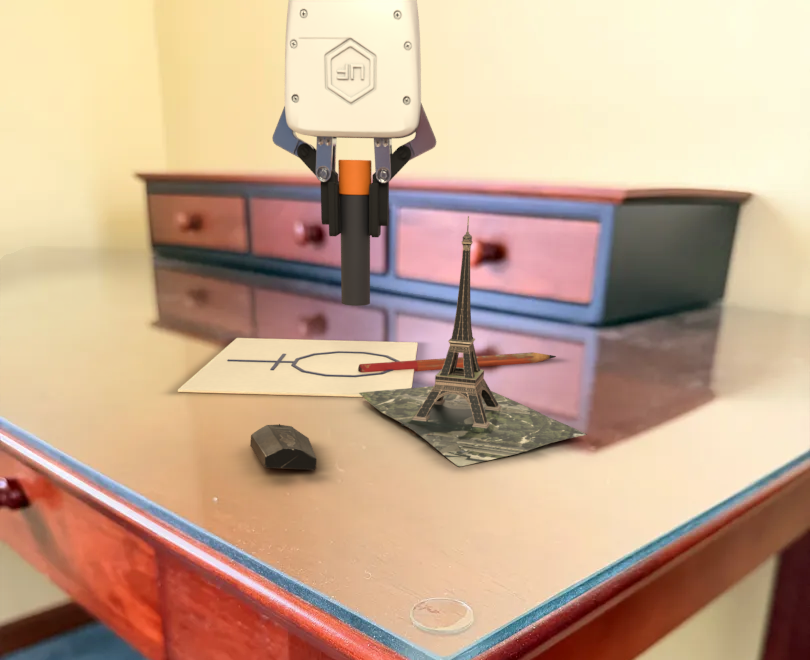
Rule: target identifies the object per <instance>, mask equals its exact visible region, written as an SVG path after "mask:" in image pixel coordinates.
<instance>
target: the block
mask: <svg viewBox="0 0 810 660" xmlns="http://www.w3.org/2000/svg"><path fill="white" fill-rule="evenodd" d="M249 444H250V446H249V447H250V448H251V449H252V451H253V452H254V454H255V455H256V457H257V458H258V460H259V462H260V463H261V464H262V466H263V467H264V468H265V469H283V470H284V469H285V470H286V469H288V470H307V471H308V470H309V471H315V470H316V468H317V456H316V453H315V451H314V449H313V446H312V444H311V441H310V439H309V437H308V436H307V435H305V434H303V433H302V432H300V431H299V430H297V429H296V428H294V426H292V425H285V424H280V423H278V424H265V425H264V426H262V427H260V428H259V429H257V430H256V431H254V432H253V433H252V434H250V442H249Z"/></svg>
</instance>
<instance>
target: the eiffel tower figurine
mask: <svg viewBox="0 0 810 660" xmlns="http://www.w3.org/2000/svg"><path fill="white" fill-rule="evenodd" d="M469 223H470V216H469V215H467V224H466V225H467V226H466V232H465V234H464V235H463V236H462V241H461V245H462V255H461V265H460V266H461V267H460V276H459V284H458V293H457V302H456V310H455V317H454V323H453V329H452V333H451V337H450V339H449V340H448V341H447V342H448V344H449V346H448V350H447V353H446V356H445V358H446V359H445V362H444V365H443V368H442V369H441V370H439V371H438V372H437V373H436V374H435V376H434V385H430V386H420V387H412V388H407V389H395V390H382V391H371V392H362V393H359V394H360V395H361V396H362V397H361V398H363V399H364V400H365V401H367V402H368V403H369V404H370V405H371V406H373V408H375V409H377V410H378V411H379V412H380V413H382V414H383V415H385V416H387V417H389V418H391V419H393V420H395V421H396V422H399V423H400V424H401V427H407V428H409V429H410V430H412V431H413V432H414V433H416V434H417V435H418V436H420V437H421V438H422V439H424V440H425V441H426V442H428V444H430V445H431V446H432V447H433V448H434V449H436V450H437V451H438V452H439V453H440V454H441V455H442V456H444V457H445V458H447V460H449V461H450V462H452V464H453V465H455V466H456V467H458V468H460V467H465V466H469V465H474V464H479V463H482V462H487V461H491V460H496V459H500V458H504V457H508V456H513V455H517V454H521V453H524V452H529V451H531V450H534V449H538V448H541V447H543V446H547V445H549V444H552V443H557V442H560V441H564V440H569V439H573V438H577V437H583V436H587V435H588V434H587V433H586V432H583V431H581V430H579V429H577V428H575V427H573V426H570V425H568V424H566V423H563V422H561V421H558V420H556V419H554V418H552V417H550V416H547V415H545V414H543V413H541V412H539V411H537V410H535V409H533V408H530V407H529V406H526V405H524V404H522V403H520V402H518V401H516V400H513V399H511V398H509V397H506V396H504V395H502V394H500V393H497V392H495V391H492V390H491V389H490V387H489V385H488V383H487V381H486V380H485V378H484V377H485V369H480V368H481V367H479V365H478V362H477V357H476V356H477V353H476V348H475V343H474V342H475V341H476V338H475V337H474V336H473V329H472V312H471V311H472V310H471V308H472V307H471V249H472V244H473V243H474V242H473V236H472V235H471V234H470V231H469V226H470V225H469ZM459 354H462V357H463V366H464V368H458V367H456V366H457V361H458V357H459Z"/></svg>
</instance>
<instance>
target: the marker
mask: <svg viewBox="0 0 810 660" xmlns="http://www.w3.org/2000/svg"><path fill="white" fill-rule="evenodd" d="M337 166H338V181H339V194H340V222H341V233H340V282H341V283H340V284H341V285H340V289H341V290H340V291H341V293H340V294H341V295H340V296H341V299H340V300H341V304H342V305H344V306H351V307H353V306H354V307H356V306H357V307H359V306H360V307H361V306H362V307H363V306H368V305H370V304H371V236H369V185H370V184H372V160H371V159H338V165H337Z"/></svg>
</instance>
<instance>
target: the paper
mask: <svg viewBox="0 0 810 660" xmlns="http://www.w3.org/2000/svg"><path fill="white" fill-rule="evenodd" d="M418 345H419V342H417V341H416V342H415V341H381V340H379V341H378V340H377V341H376V340H339V339H338V340H337V339H335V340H334V339H302V338H301V339H300V338H299V339H298V338H297V339H295V338H261V337H260V338H257V337H236V338H235V339H234V340H232V342H230V343H229V344H228V345H226V347H225V348H223V349H222V350H221V351H220V352H219V353H218V354H216V355H215V356H214V357H213V358H212V359H211V360H209V362H207V363H206V364H205V365H204V366H202V367H201V368H200V369H199V370H198V371H197V372H196V373H195V374H194V375H192V376H191V377H190V378H189V379H188V380H187V381H186V382H185V383H184V384H182V385H181V386H180V387H179V388H178V389H177V393H198V394H199V393H202V394H203V393H204V394H205V393H206V394H237V395H241V394H242V395H272V396H273V395H275V396H277V395H278V396H312V397H313V396H314V397H349V398H351V397H352V398H363V397H362V396H361V395H360V394H359V393H362V392H371V391H382V390H395V389H407V388H413V382H414V376H415V371H414V369H406V370H393V369H391V370H386V371H378V372H363V373H362V372H359V371H358V367H359V365H360V364H369V363H384V362H399V361H413V360H417V352H418V347H419V346H418Z"/></svg>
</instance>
